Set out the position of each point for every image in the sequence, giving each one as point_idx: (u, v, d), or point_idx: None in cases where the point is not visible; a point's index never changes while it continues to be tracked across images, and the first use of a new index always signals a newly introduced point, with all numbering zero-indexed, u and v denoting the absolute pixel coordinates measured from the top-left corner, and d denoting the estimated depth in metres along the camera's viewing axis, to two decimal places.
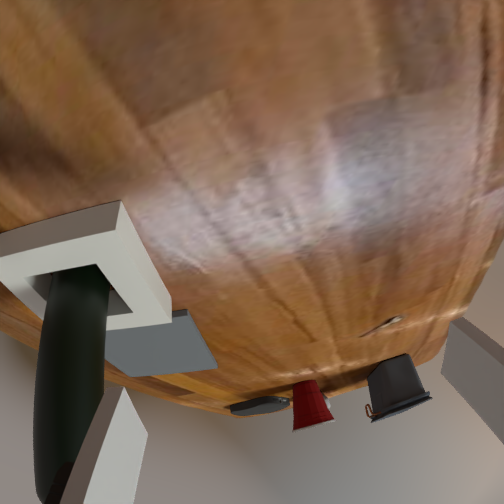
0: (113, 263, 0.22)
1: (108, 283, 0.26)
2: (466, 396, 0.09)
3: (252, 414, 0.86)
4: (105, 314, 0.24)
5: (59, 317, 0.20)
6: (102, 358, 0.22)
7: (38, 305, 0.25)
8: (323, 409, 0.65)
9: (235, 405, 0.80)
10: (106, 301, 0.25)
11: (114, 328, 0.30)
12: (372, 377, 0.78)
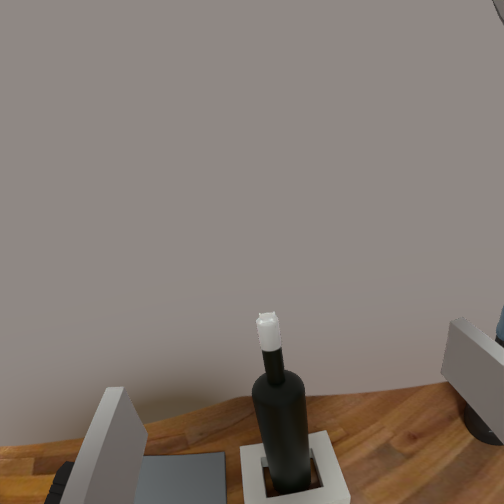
0: (323, 494, 0.32)
1: (291, 491, 0.34)
2: (466, 396, 0.09)
3: None
4: (289, 481, 0.34)
5: None
6: (286, 467, 0.32)
7: None
8: None
9: None
10: (290, 485, 0.34)
11: (244, 482, 0.36)
12: None
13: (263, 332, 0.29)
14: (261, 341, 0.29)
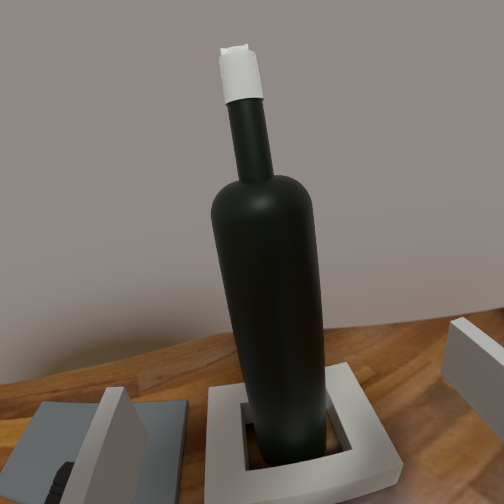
0: (353, 463, 0.18)
1: (292, 461, 0.20)
2: (466, 396, 0.09)
3: None
4: (288, 438, 0.19)
5: None
6: (282, 401, 0.18)
7: None
8: None
9: None
10: (290, 447, 0.20)
11: (209, 442, 0.22)
12: None
13: (229, 64, 0.15)
14: (226, 85, 0.15)
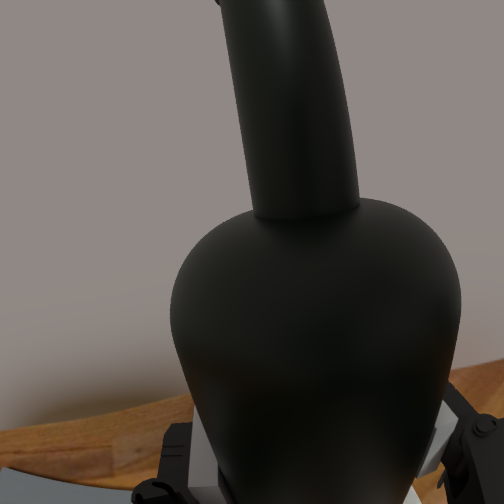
0: None
1: None
2: None
3: None
4: None
5: None
6: None
7: None
8: None
9: None
10: None
11: None
12: None
13: None
14: None
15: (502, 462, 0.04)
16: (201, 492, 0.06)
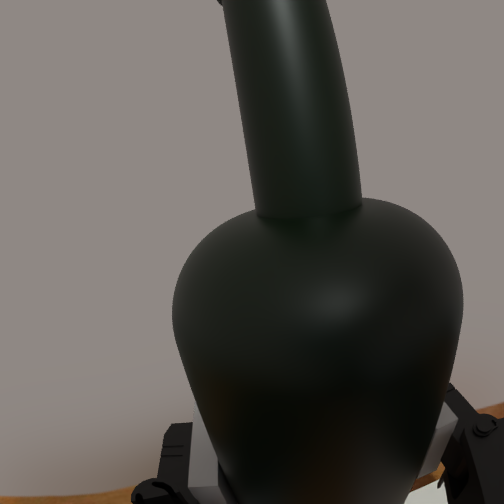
0: None
1: None
2: None
3: None
4: None
5: None
6: None
7: None
8: None
9: None
10: None
11: None
12: None
13: None
14: None
15: (502, 462, 0.04)
16: (201, 492, 0.06)
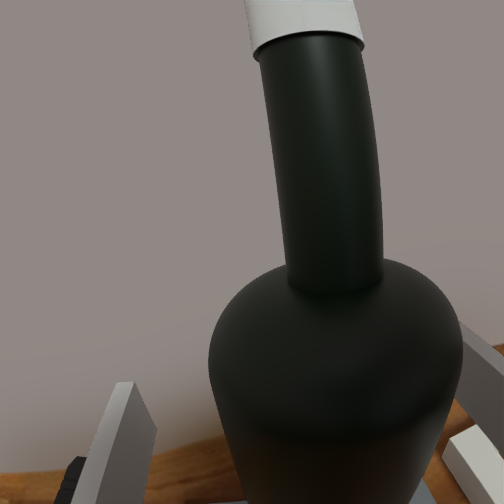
0: None
1: None
2: (456, 395, 0.10)
3: None
4: None
5: None
6: None
7: None
8: None
9: None
10: None
11: (493, 495, 0.12)
12: None
13: None
14: None
15: None
16: None
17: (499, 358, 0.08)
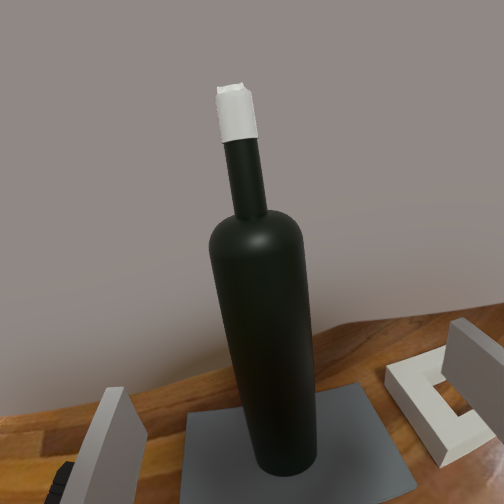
0: None
1: (284, 467, 0.22)
2: (466, 396, 0.09)
3: None
4: (280, 447, 0.21)
5: None
6: (274, 415, 0.20)
7: (438, 356, 0.30)
8: None
9: None
10: (283, 455, 0.21)
11: (419, 405, 0.24)
12: None
13: (225, 104, 0.16)
14: (222, 125, 0.17)
15: None
16: None
17: None
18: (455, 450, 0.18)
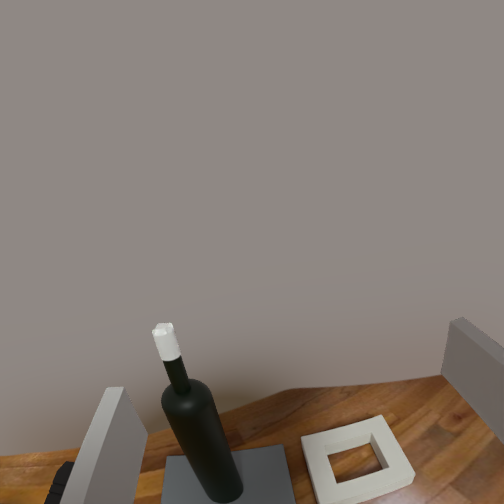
0: (390, 474, 0.32)
1: (219, 498, 0.34)
2: (466, 396, 0.09)
3: None
4: (213, 489, 0.33)
5: (235, 467, 0.35)
6: (205, 475, 0.32)
7: (342, 433, 0.42)
8: None
9: None
10: (216, 493, 0.33)
11: (312, 471, 0.36)
12: None
13: (157, 342, 0.28)
14: (158, 350, 0.29)
15: None
16: None
17: None
18: None
